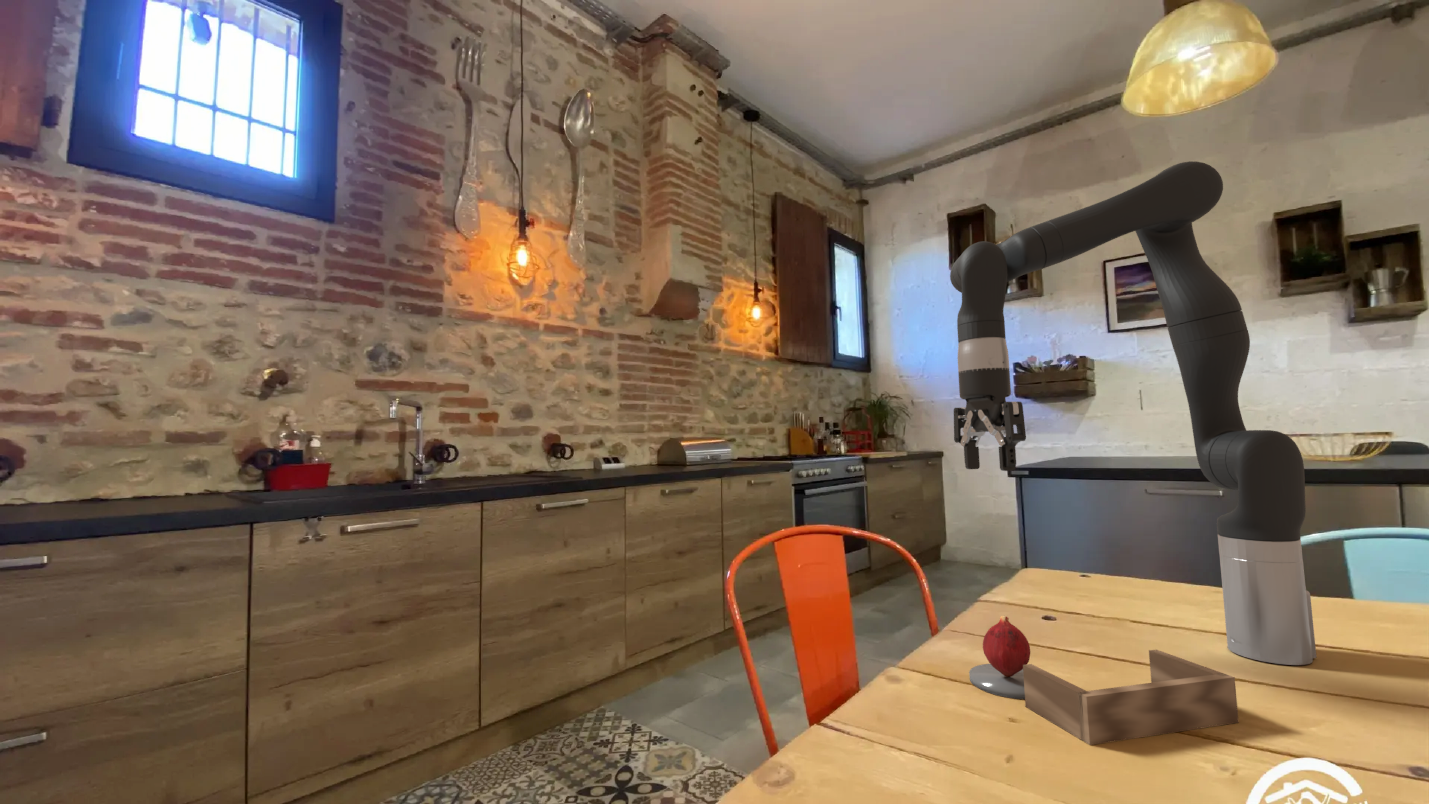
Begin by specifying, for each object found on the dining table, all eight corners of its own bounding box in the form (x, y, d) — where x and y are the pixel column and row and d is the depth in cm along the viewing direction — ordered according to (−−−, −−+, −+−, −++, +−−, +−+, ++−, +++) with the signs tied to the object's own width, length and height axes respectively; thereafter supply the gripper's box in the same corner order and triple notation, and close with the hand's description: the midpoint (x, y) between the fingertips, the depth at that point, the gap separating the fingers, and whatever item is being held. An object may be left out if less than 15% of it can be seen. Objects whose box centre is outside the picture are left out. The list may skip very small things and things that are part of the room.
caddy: (1159, 689, 77) (1156, 649, 77) (1238, 722, 67) (1234, 677, 68) (1025, 706, 72) (1022, 664, 73) (1089, 744, 63) (1086, 696, 63)
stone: (1016, 666, 85) (1015, 660, 85) (1070, 694, 76) (1070, 687, 76) (954, 673, 83) (954, 667, 83) (1002, 703, 74) (1002, 696, 74)
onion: (1038, 686, 76) (1034, 623, 77) (991, 684, 77) (987, 621, 78) (1023, 669, 82) (1020, 610, 83) (979, 668, 83) (976, 609, 84)
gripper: (1035, 362, 89) (1043, 470, 88) (975, 374, 103) (981, 467, 102) (992, 362, 87) (998, 472, 86) (937, 374, 101) (942, 469, 100)
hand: (989, 469), depth 94 cm, fingers open, 8 cm apart
